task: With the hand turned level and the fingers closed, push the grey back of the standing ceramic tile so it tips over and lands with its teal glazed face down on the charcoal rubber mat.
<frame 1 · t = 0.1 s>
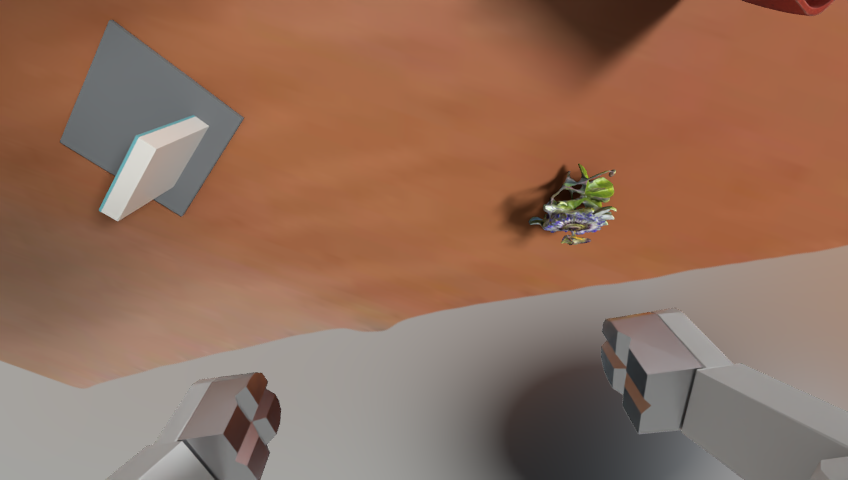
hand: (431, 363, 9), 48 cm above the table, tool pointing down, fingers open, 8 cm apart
tile: (184, 153, 54), point 1 cm above the table, touching mat
passion flower: (565, 193, 59), on the table
mat: (152, 129, 53), on the table
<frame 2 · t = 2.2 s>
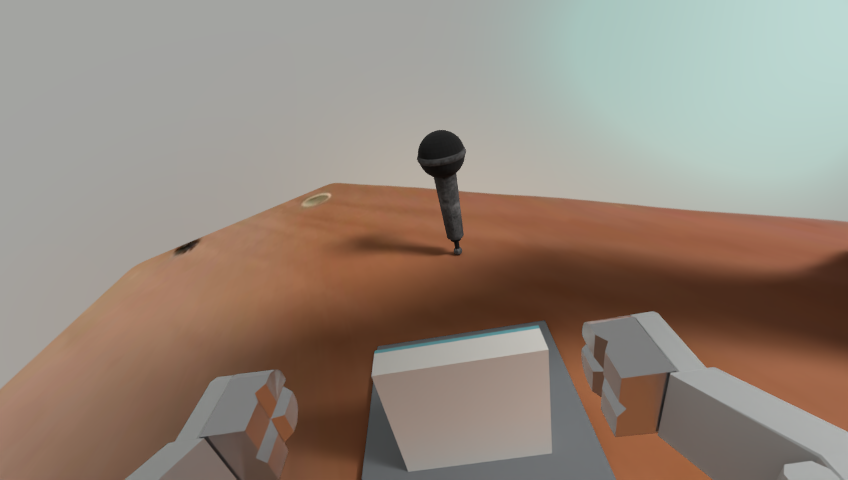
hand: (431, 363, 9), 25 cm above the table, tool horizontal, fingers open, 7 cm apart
tile: (477, 450, 31), point 1 cm above the table, touching mat
microphone: (458, 255, 60), on the table
mat: (470, 403, 36), on the table
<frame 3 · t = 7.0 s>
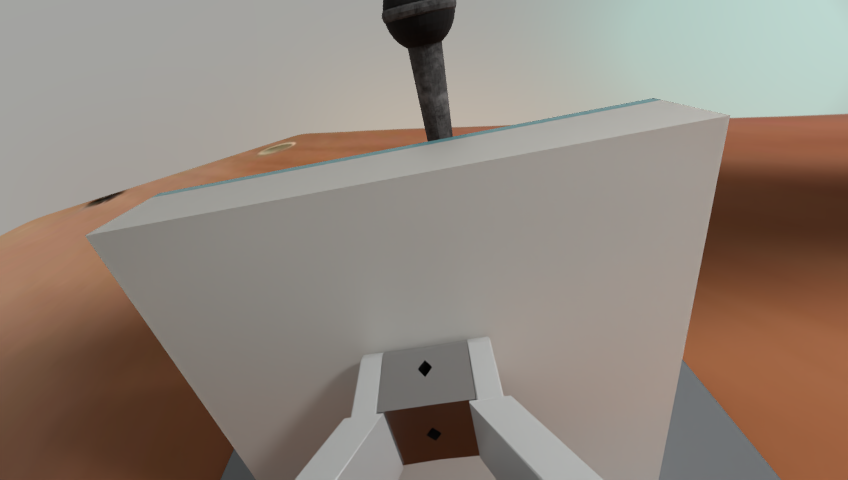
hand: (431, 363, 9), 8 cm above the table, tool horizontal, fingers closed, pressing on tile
microphone: (447, 183, 42), on the table
mat: (454, 383, 18), on the table
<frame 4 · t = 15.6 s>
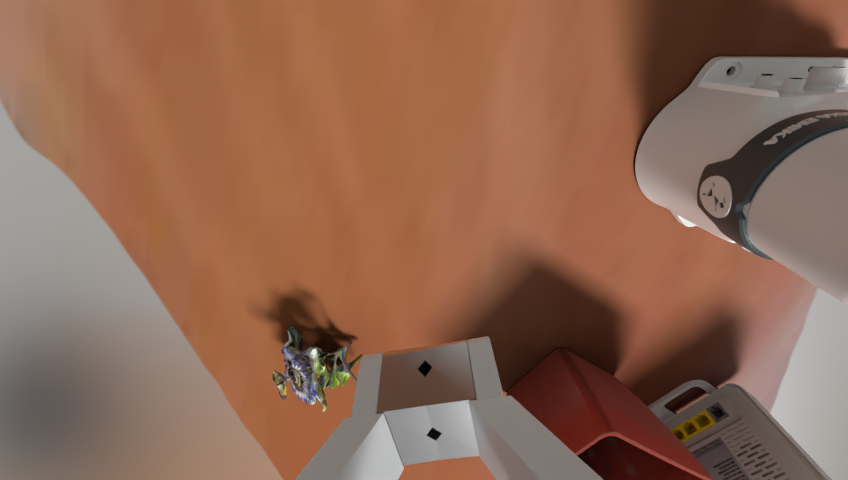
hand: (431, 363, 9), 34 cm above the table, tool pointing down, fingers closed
network device: (662, 414, 64), on the table
plant pot: (558, 383, 60), on the table
passion flower: (326, 343, 55), on the table
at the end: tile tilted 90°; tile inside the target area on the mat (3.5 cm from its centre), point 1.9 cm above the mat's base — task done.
